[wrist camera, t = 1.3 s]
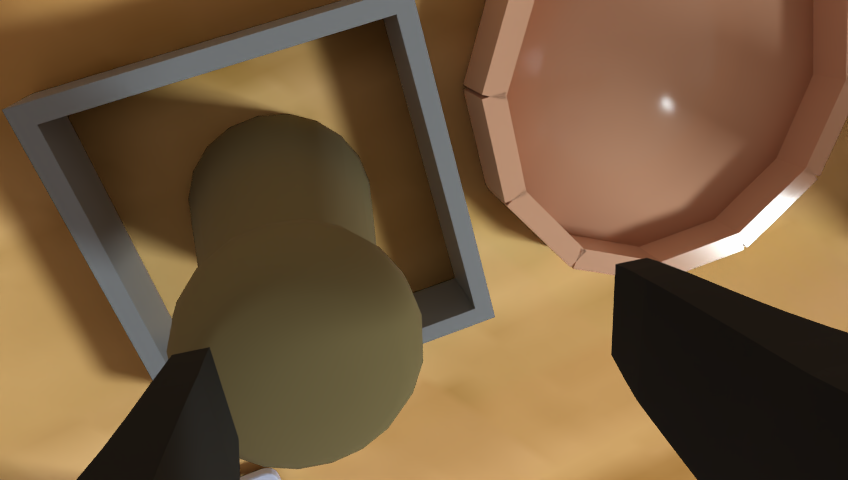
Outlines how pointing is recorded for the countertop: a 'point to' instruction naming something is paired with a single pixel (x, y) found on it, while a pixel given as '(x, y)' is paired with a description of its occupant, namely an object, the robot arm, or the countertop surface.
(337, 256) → the olive rounded piece
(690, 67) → the dish
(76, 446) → the countertop surface
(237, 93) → the countertop surface
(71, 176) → the parts tray
